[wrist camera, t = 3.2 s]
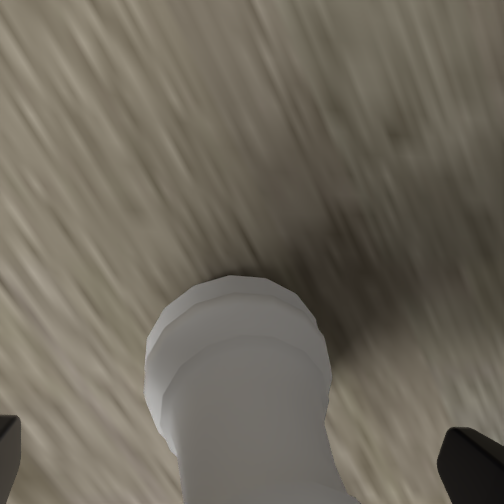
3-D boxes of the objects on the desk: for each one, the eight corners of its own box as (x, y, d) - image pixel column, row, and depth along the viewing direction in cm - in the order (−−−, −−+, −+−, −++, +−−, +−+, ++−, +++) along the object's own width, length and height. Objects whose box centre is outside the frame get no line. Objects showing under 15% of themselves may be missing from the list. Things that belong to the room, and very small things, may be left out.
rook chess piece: (316, 407, 11) (576, 970, 4) (157, 431, 11) (79, 1152, 3) (315, 259, 10) (716, 661, 2) (134, 277, 9) (-98, 886, 2)
